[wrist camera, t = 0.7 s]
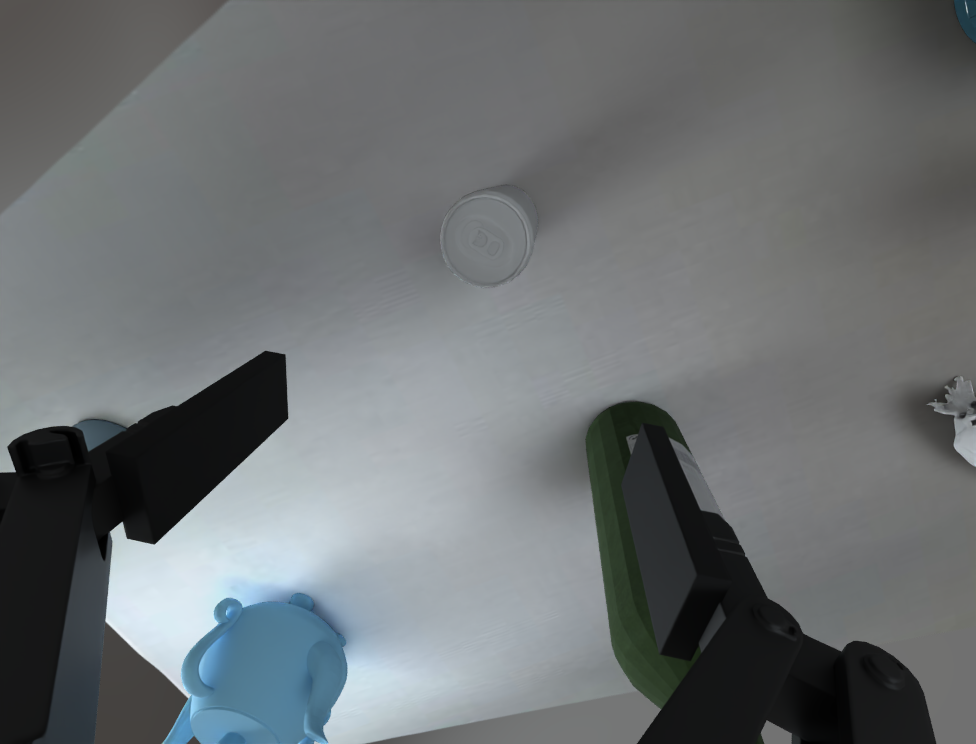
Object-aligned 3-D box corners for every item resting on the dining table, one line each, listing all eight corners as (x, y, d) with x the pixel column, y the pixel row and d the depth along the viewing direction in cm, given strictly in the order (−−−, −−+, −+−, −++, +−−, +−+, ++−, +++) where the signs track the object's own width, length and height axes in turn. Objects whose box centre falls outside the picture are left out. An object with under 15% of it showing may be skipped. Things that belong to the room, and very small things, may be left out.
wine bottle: (580, 473, 41) (640, 1051, 14) (589, 396, 38) (688, 949, 11) (670, 481, 41) (917, 1111, 13) (687, 402, 37) (1056, 1019, 10)
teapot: (381, 606, 52) (326, 746, 39) (338, 696, 60) (281, 836, 47) (248, 551, 51) (148, 676, 38) (222, 649, 59) (132, 780, 46)
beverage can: (494, 170, 32) (466, 170, 21) (551, 207, 33) (552, 225, 22) (462, 231, 34) (421, 259, 23) (516, 265, 35) (501, 308, 24)
